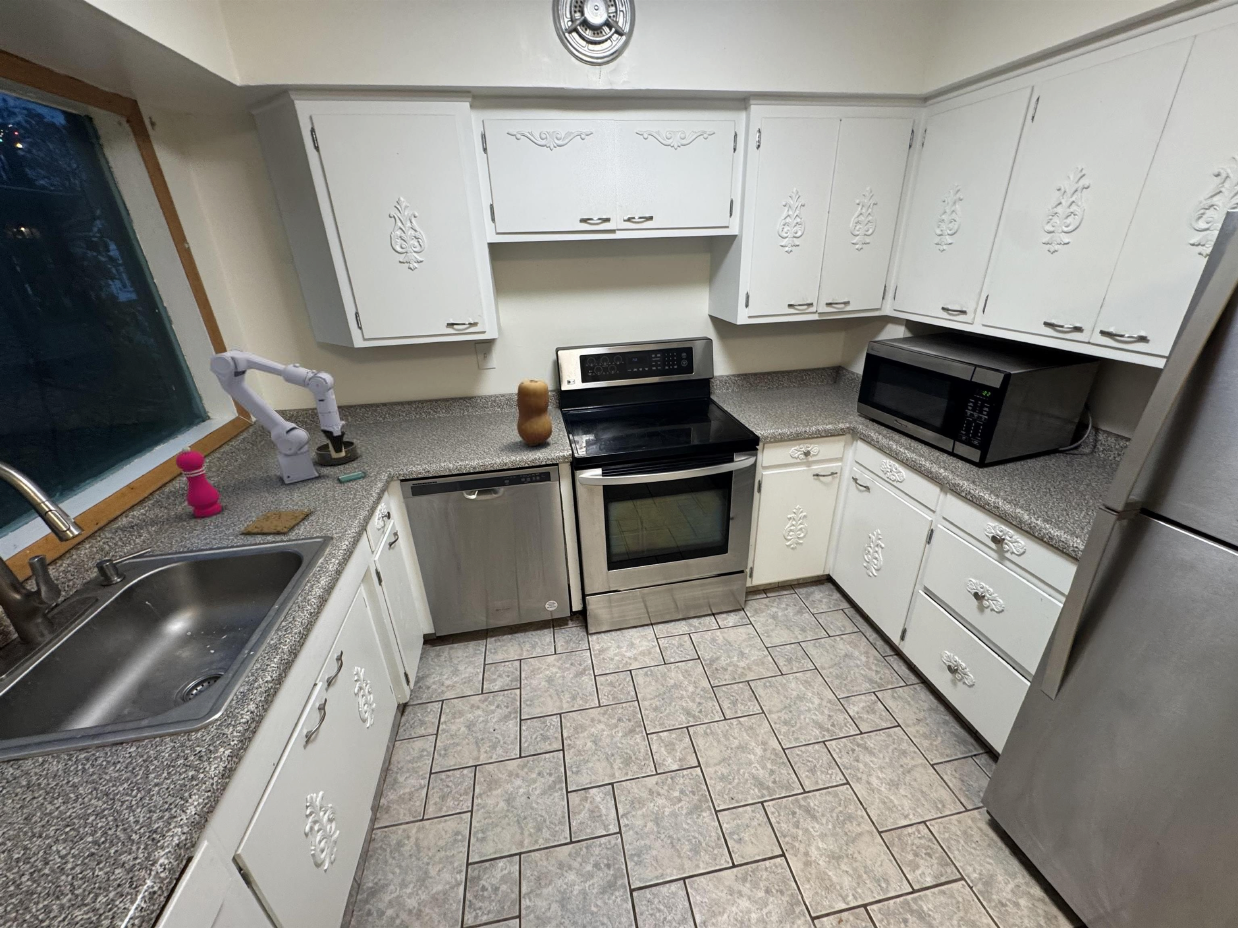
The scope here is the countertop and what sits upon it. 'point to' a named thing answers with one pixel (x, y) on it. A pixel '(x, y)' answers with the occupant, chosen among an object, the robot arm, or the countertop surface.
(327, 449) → the dark round bowl
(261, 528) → the brown square cork trivet
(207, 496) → the pepper mill
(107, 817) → the countertop surface
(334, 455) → the spice jar
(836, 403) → the countertop surface
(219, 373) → the robot arm
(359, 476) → the teal rectangular slab
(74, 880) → the countertop surface
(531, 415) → the butternut squash
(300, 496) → the countertop surface
